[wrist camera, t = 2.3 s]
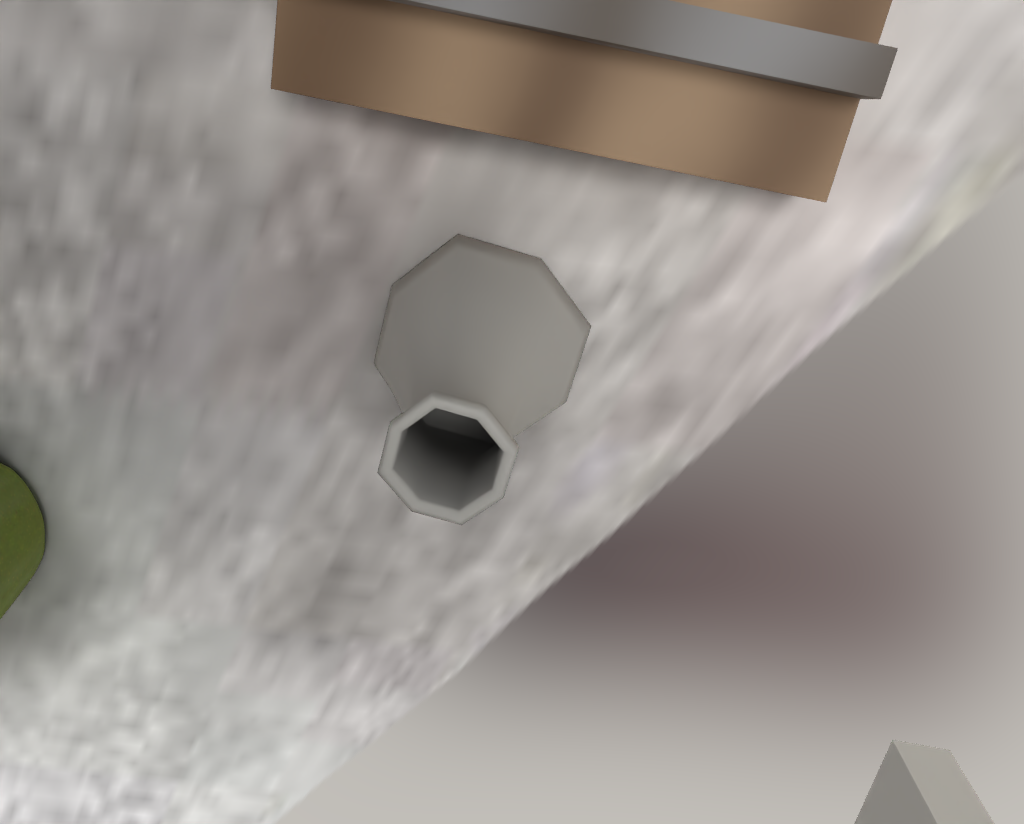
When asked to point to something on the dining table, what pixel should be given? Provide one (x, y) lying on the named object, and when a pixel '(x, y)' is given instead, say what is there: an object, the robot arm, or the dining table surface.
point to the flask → (471, 372)
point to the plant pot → (18, 536)
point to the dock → (609, 75)
